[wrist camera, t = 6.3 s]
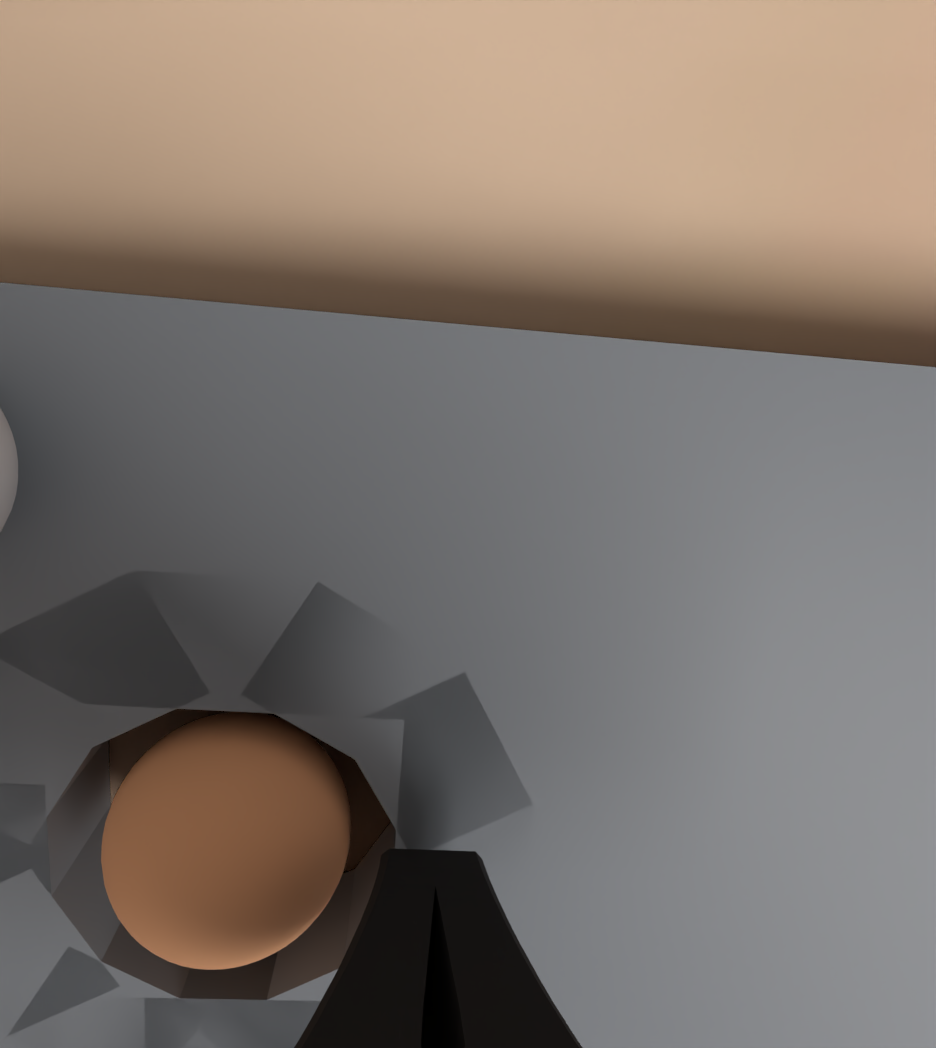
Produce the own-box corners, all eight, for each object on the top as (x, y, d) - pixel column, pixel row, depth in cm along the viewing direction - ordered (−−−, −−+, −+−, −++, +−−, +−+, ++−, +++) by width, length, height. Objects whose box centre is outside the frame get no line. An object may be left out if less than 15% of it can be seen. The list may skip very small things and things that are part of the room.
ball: (230, 898, 14) (236, 1074, 10) (67, 789, 12) (14, 952, 9) (373, 755, 14) (423, 882, 11) (228, 633, 13) (234, 737, 9)
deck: (903, 1128, 16) (975, 1247, 14) (-8, 1122, 15) (-81, 1255, 13) (1129, 385, 12) (1276, 398, 10) (-88, 274, 11) (-211, 263, 9)
